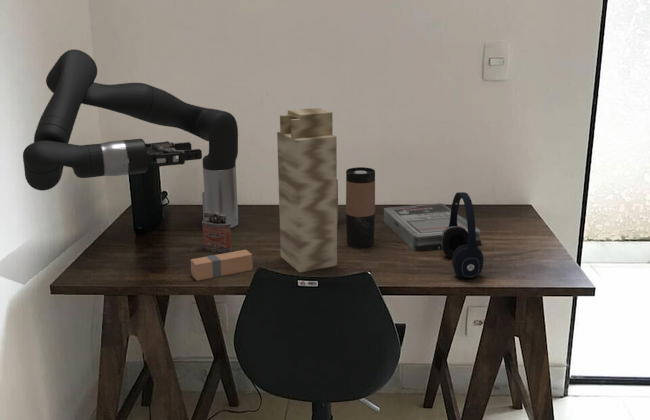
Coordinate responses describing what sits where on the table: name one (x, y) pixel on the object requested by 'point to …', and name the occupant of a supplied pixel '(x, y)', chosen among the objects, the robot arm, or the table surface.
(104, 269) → the table surface
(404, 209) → the hard drive
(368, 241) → the travel mug
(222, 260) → the bar
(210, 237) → the lighter
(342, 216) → the table surface
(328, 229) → the socket tower
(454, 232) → the headphones
